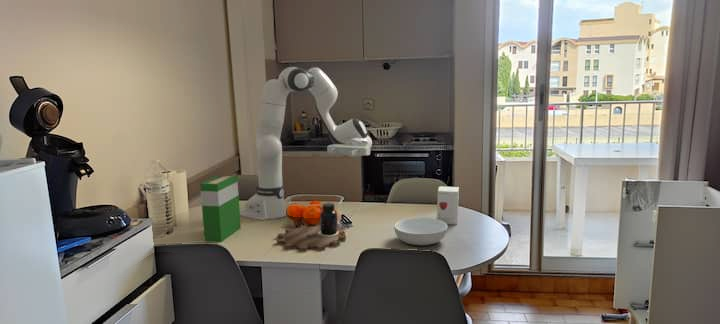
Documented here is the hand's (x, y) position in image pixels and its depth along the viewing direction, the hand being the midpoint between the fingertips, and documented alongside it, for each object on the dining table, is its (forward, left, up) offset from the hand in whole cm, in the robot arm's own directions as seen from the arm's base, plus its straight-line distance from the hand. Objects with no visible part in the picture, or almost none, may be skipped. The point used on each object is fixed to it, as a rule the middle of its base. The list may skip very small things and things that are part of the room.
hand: (341, 152), depth 225 cm
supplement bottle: (+7, -29, -28) cm, 41 cm away
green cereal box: (-36, -42, -30) cm, 63 cm away
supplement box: (+48, +8, -30) cm, 57 cm away
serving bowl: (+44, -21, -30) cm, 57 cm away
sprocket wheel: (+2, -34, -30) cm, 45 cm away
